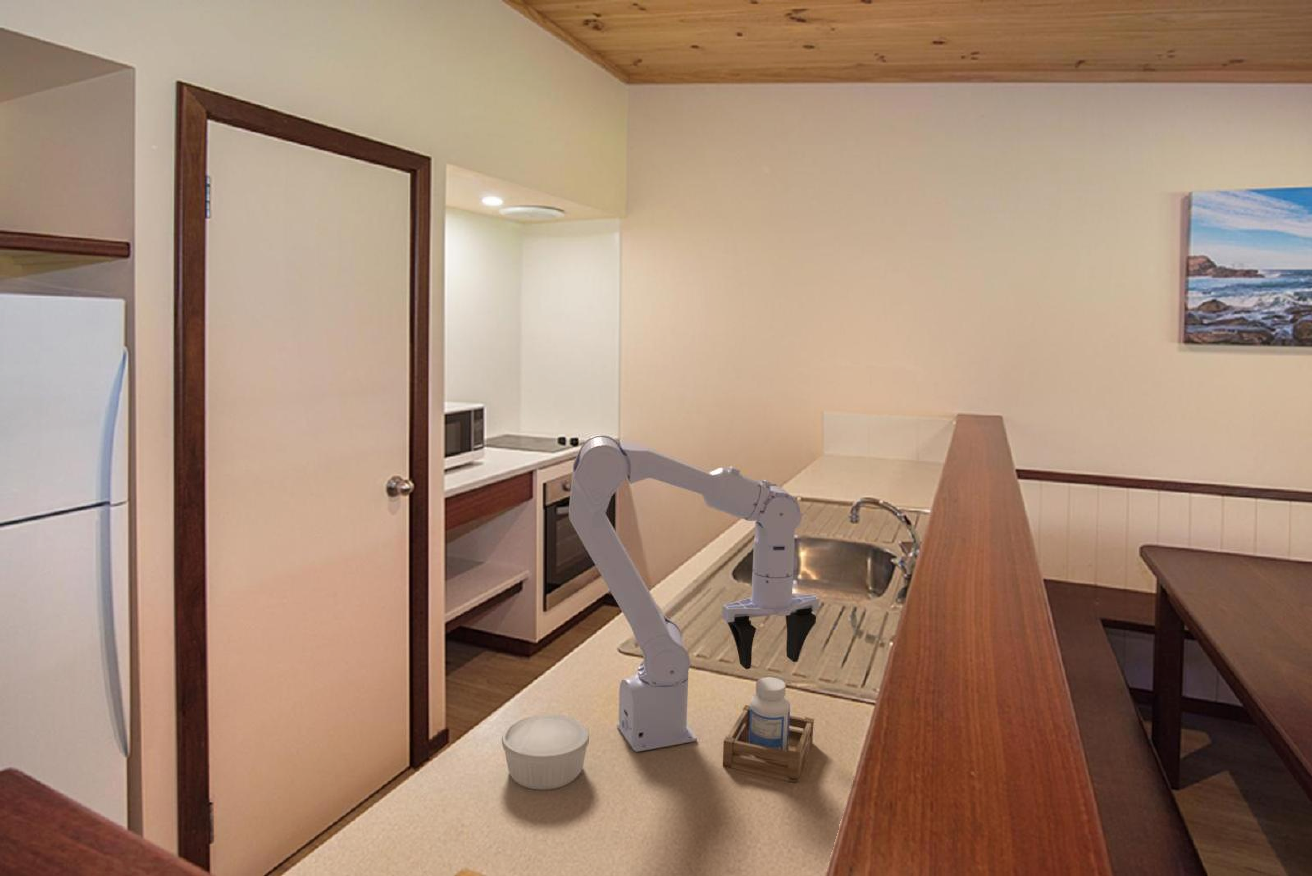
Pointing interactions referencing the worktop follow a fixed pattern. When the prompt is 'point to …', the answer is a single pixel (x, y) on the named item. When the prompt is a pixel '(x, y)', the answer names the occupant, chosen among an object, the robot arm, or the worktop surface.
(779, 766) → the crate
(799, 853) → the worktop surface
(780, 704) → the pill bottle
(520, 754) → the ramekin
